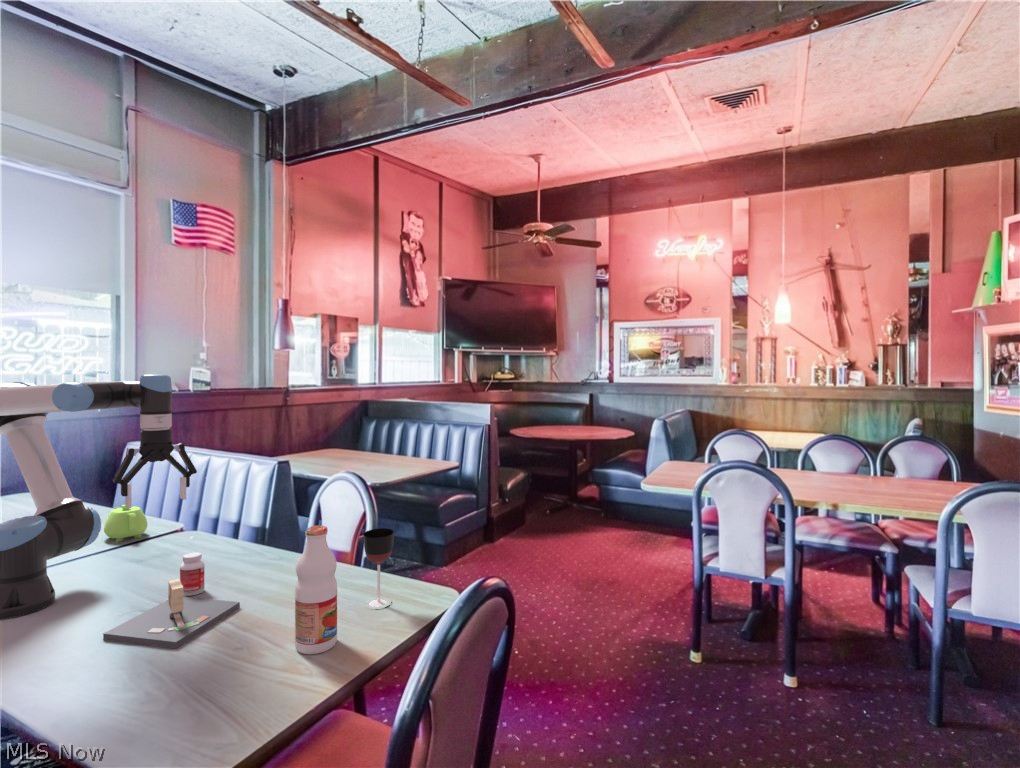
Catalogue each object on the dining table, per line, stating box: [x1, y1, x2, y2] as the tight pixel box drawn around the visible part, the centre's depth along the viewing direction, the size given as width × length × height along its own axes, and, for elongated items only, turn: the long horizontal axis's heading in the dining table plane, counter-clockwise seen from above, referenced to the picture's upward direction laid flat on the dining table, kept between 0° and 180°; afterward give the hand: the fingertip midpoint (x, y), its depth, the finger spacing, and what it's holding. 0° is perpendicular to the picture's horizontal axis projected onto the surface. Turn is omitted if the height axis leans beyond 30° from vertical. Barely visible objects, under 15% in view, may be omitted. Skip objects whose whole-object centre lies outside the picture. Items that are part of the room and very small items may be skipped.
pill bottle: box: [179, 551, 205, 597], centre depth 156 cm, size 6×6×11 cm
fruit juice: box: [294, 525, 338, 655], centre depth 127 cm, size 9×9×28 cm
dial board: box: [102, 596, 241, 649], centre depth 138 cm, size 20×22×2 cm
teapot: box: [103, 504, 148, 543], centre depth 206 cm, size 20×13×13 cm
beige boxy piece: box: [167, 578, 184, 628], centre depth 135 cm, size 12×3×8 cm, turn 39°
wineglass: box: [363, 527, 395, 607], centre depth 150 cm, size 8×9×20 cm
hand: (156, 503), depth 153 cm, fingers open, 13 cm apart
